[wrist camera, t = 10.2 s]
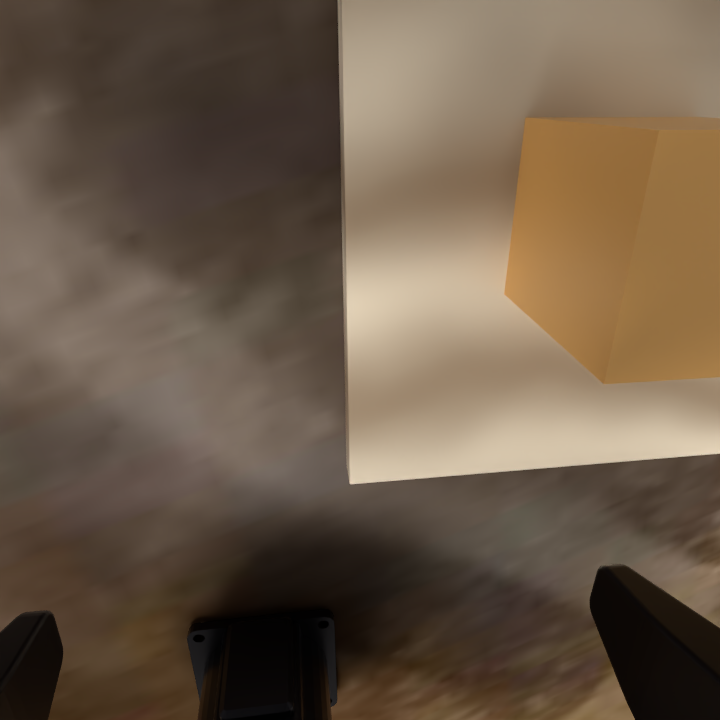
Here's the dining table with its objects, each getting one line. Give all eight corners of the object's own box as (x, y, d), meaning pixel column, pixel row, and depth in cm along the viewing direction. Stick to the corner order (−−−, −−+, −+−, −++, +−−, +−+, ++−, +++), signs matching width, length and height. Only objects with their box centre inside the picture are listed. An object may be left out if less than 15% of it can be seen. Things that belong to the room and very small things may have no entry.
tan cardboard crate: (655, 288, 19) (815, 371, 13) (504, 294, 18) (603, 384, 13) (696, 116, 17) (912, 128, 11) (525, 117, 16) (659, 130, 10)
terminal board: (715, 435, 24) (819, 518, 19) (346, 465, 22) (363, 564, 17) (914, -177, 15) (1192, -296, 11) (333, -209, 13) (360, -369, 9)
